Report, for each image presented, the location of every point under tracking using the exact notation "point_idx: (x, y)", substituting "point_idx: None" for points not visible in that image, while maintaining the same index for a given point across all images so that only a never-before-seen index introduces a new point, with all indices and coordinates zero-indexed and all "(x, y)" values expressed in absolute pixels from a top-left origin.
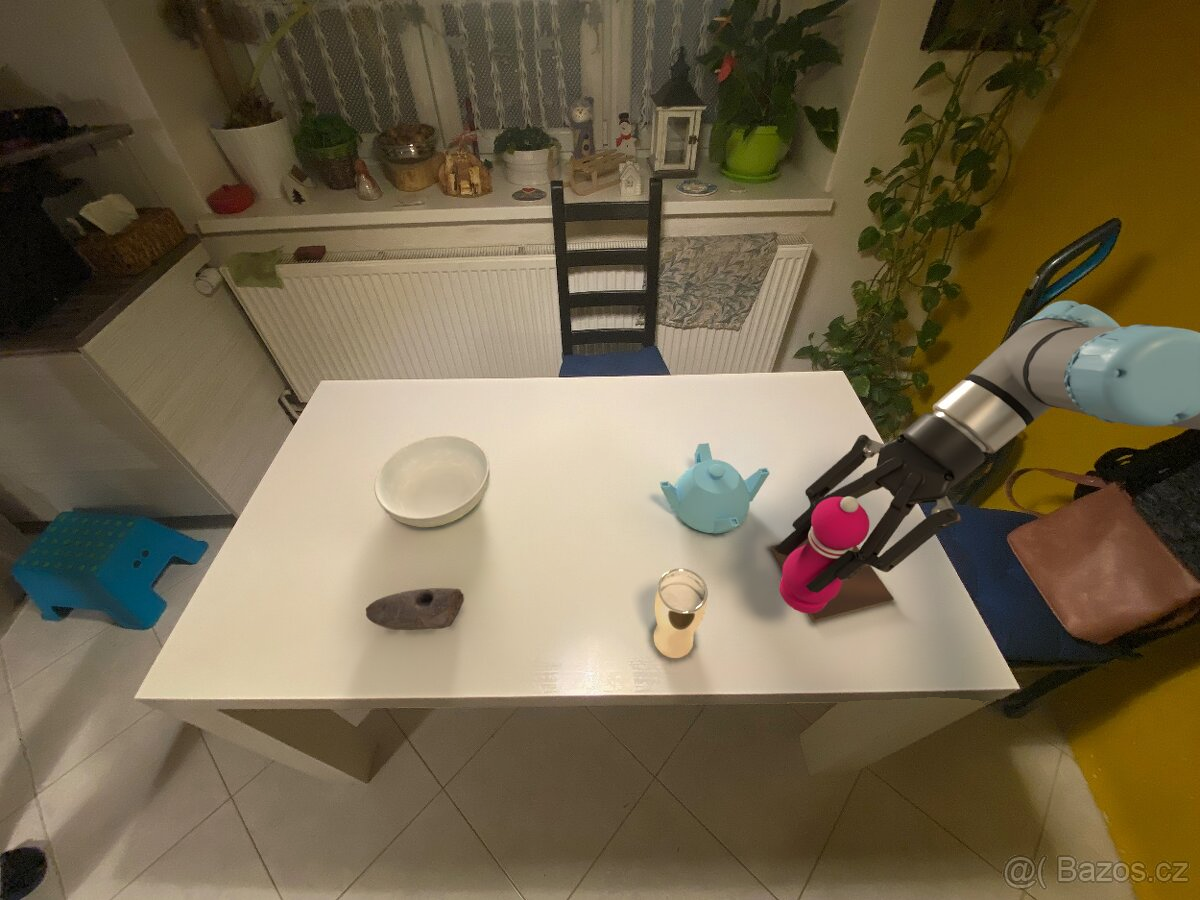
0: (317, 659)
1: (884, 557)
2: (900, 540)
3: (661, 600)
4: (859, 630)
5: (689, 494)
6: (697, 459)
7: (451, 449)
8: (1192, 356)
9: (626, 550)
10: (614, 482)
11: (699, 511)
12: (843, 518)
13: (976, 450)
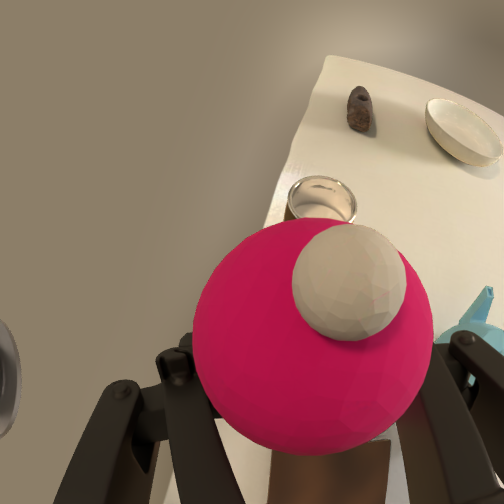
0: (335, 85)
1: (120, 410)
2: (104, 477)
3: (313, 176)
4: (242, 490)
5: (477, 326)
6: None
7: (493, 151)
8: None
9: (415, 262)
10: (491, 277)
11: None
12: (283, 253)
13: None
